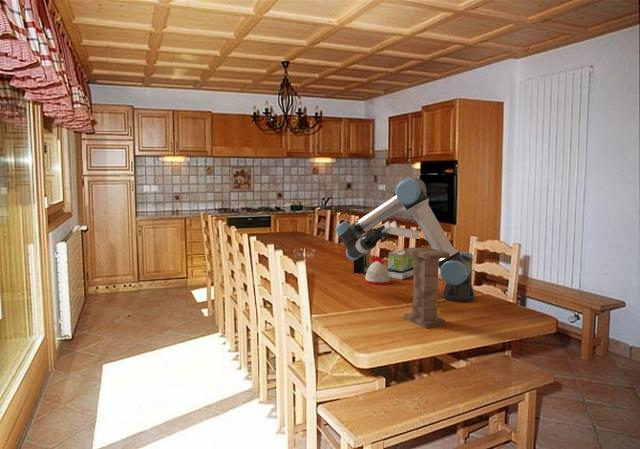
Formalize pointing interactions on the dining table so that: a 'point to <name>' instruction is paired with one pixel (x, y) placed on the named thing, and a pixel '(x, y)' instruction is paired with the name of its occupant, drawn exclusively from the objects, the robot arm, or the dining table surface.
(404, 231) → the aluminium bar
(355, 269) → the electrical component
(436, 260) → the walnut pedestal
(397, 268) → the tea box
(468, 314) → the dining table surface
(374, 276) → the kitchen timer
